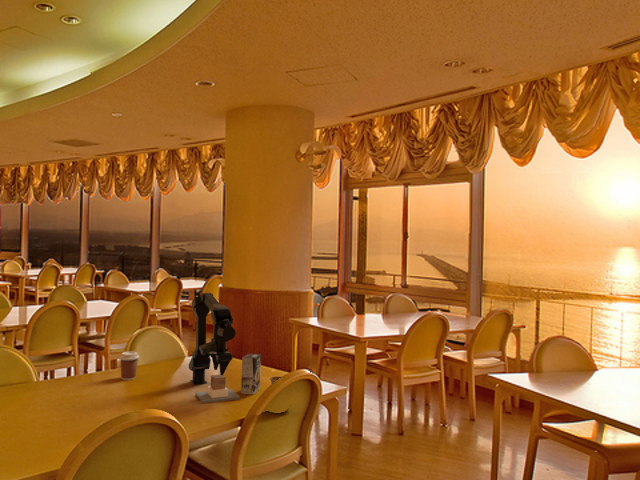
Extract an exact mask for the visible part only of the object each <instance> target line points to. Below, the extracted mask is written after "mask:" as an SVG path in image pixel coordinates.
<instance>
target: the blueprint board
mask: <svg viewBox="0 0 640 480" xmlns="http://www.w3.org/2000/svg"><path fill="white" fill-rule="evenodd" d="M195 396H196V397H197V398H198V399H199V400H200V402H201V403H202V404H209V403H216V402H217V403H218V402H227V401H235V400H240V399H241V396H240V395H239V394H237V393H236V392H235V391H234V390H233V389H232V388H228V387H226V386H225V389H218V390H213V389H212V388H211V385H209V386H207V391H201V392H200V391H199V392H195Z"/></svg>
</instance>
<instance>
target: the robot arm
mask: <svg viewBox="0 0 640 480" xmlns="http://www.w3.org/2000/svg"><path fill="white" fill-rule="evenodd" d="M191 308H192V312H193V314H194V316H195V349H194V350H193V351H192V354H191V358H190V361H189V363H188V370H190V371H191V372H192V377H191V378H192V379H190V380H189V381H190V382H191V384H192V385H200V384H207V383H208V381H207V380H206V378H205V377H206V370H210V367H211V361H212V365H213V370H214V371H218V368H219V374H220V375H224V374H225V372H226V371H227V368H228V366H229V365H230V362H232V360H233V354H232V353H231V352H230V351H228V349H229V348H227V343H228V342H229V341H231V340H233V339H234V338H235V337H236V332H237V331H236V330H235V328H234V326H232V324H234V323H233V322H234V317H233V315H232V312H231V310H230V308H229V307H228V306H227V305H224V304H221V303H220V302H219V301H218V300H217V298H216V297H215V296H214V294H213V293H212V292H203V293H201V294H200V295H198V296H196V297H194V299H192V300H191ZM209 313H210V317H211V320H212V325H213V331H212V332H213V333H212V335H213V337H211V339H210V342H207V317H208V315H209Z"/></svg>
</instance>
